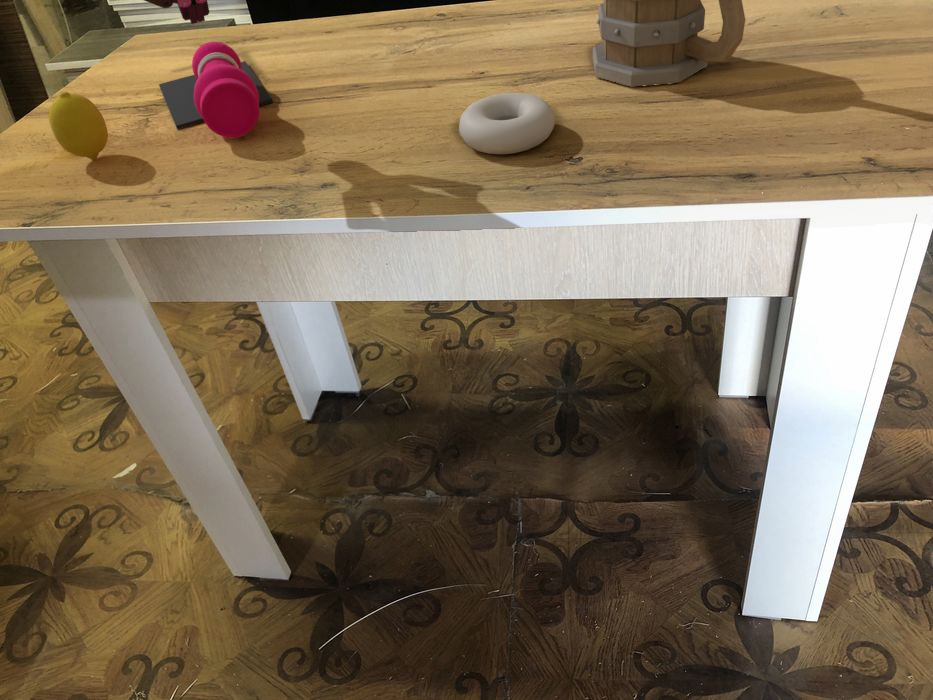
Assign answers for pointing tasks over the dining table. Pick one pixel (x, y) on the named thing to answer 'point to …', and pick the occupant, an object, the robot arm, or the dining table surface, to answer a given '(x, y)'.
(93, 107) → the lemon
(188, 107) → the mat
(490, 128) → the donut
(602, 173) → the dining table surface
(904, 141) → the dining table surface
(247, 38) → the dining table surface
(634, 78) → the tankard
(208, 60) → the pepper mill
